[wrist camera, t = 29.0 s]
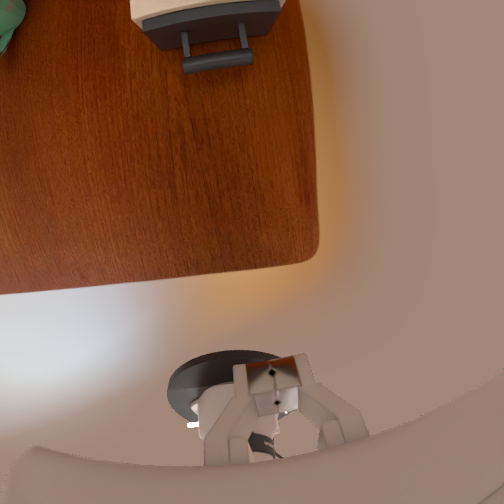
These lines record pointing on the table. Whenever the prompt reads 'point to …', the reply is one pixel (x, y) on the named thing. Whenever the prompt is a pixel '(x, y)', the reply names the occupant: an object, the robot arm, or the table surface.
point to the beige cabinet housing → (168, 7)
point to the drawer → (213, 31)
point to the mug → (10, 20)
